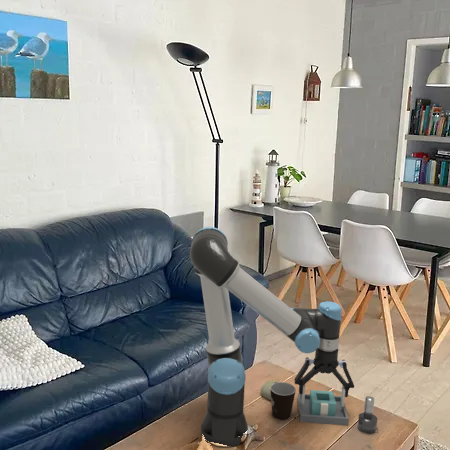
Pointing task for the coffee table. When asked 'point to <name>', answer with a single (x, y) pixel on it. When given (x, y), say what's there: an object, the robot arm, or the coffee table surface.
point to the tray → (306, 416)
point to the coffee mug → (282, 400)
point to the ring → (322, 403)
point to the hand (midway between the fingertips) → (322, 403)
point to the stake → (367, 417)
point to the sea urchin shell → (267, 389)
